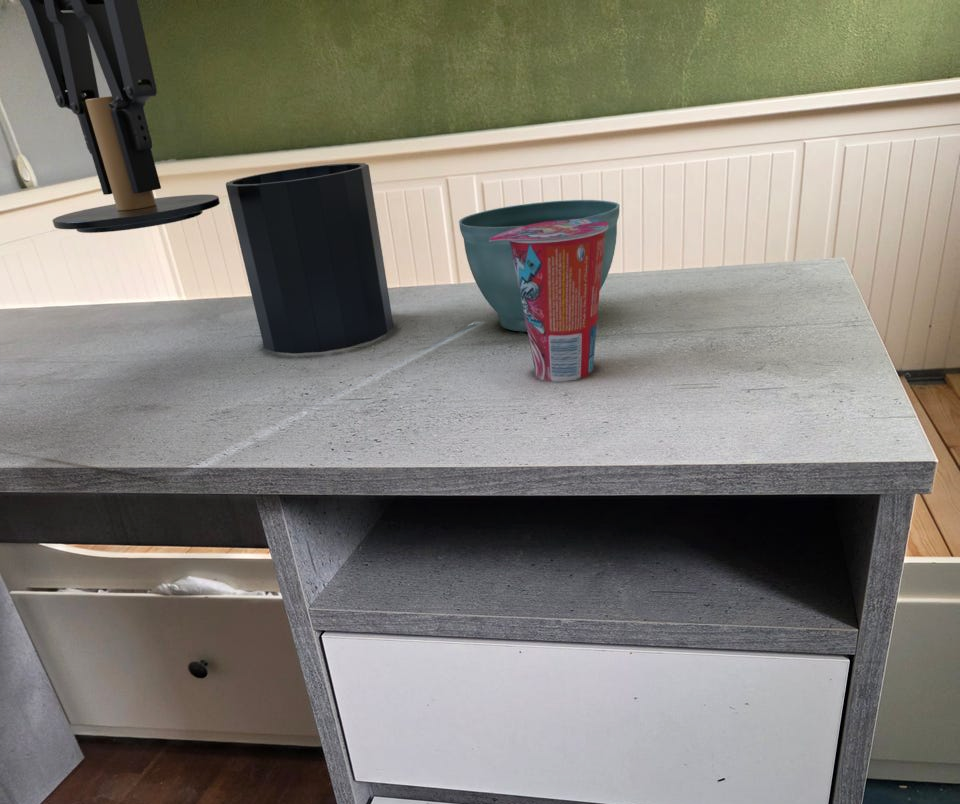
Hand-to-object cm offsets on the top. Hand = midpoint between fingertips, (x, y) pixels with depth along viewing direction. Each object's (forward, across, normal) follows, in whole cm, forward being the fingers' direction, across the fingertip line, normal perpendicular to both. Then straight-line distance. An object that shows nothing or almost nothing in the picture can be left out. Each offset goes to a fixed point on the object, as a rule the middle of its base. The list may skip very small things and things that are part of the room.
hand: (132, 191), depth 83 cm
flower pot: (+17, -30, -24) cm, 42 cm away
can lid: (+2, 0, 0) cm, 2 cm away
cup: (+17, -40, -8) cm, 45 cm away
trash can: (+17, -8, -14) cm, 24 cm away
